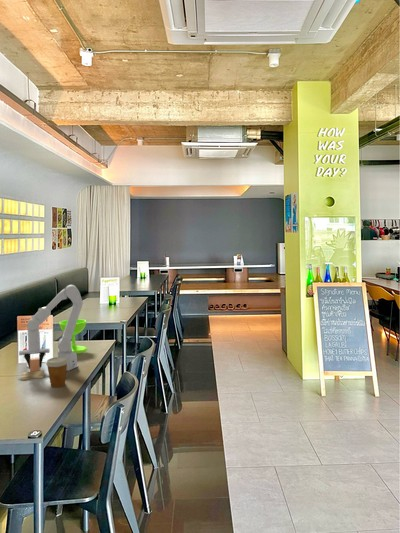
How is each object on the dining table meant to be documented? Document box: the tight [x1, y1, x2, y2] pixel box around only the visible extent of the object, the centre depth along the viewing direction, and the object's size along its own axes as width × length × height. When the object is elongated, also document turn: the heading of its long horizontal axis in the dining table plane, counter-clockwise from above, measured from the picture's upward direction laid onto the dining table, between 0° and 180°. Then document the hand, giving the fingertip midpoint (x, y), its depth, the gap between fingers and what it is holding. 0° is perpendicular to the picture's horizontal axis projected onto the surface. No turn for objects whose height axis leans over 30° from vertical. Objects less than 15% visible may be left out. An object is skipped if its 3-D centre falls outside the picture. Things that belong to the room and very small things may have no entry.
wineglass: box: [58, 318, 88, 354], centre depth 248 cm, size 16×16×18 cm
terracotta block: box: [29, 356, 42, 372], centre depth 210 cm, size 4×4×6 cm
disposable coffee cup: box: [45, 356, 68, 388], centre depth 188 cm, size 10×10×12 cm
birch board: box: [20, 370, 45, 381], centre depth 201 cm, size 10×7×2 cm
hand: (35, 367), depth 210 cm, fingers closed on terracotta block, 4 cm apart
